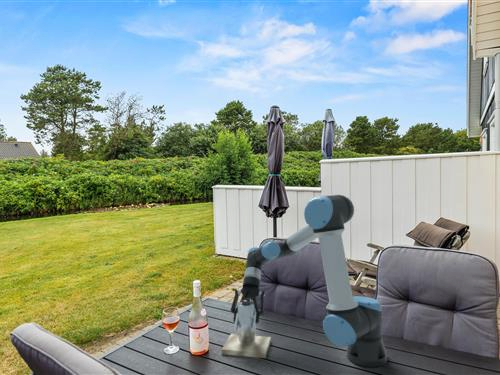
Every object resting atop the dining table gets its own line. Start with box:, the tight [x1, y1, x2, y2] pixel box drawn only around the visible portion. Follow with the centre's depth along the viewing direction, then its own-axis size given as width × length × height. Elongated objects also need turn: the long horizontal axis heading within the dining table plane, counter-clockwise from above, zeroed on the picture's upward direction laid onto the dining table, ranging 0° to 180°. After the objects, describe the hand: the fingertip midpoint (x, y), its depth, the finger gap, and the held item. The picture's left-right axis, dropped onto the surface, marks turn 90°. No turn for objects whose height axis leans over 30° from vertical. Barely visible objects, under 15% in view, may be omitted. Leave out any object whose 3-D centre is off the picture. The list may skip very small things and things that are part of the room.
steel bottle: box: [237, 299, 256, 344], centre depth 144 cm, size 7×7×17 cm
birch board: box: [221, 333, 272, 359], centre depth 144 cm, size 18×14×2 cm
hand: (244, 330), depth 140 cm, fingers closed on steel bottle, 7 cm apart
